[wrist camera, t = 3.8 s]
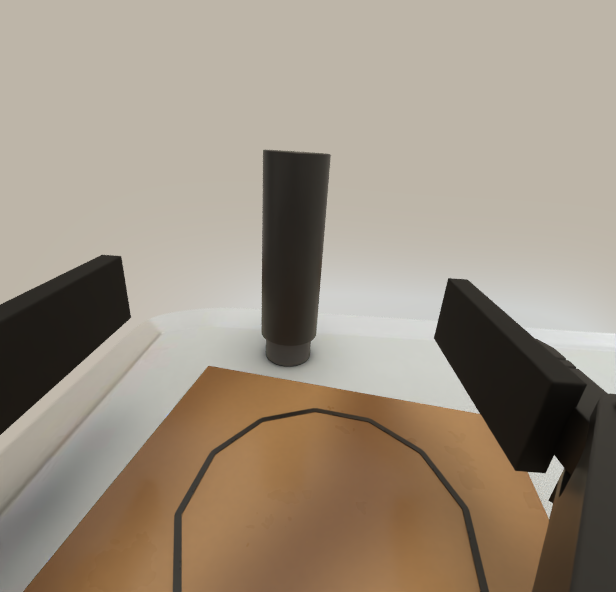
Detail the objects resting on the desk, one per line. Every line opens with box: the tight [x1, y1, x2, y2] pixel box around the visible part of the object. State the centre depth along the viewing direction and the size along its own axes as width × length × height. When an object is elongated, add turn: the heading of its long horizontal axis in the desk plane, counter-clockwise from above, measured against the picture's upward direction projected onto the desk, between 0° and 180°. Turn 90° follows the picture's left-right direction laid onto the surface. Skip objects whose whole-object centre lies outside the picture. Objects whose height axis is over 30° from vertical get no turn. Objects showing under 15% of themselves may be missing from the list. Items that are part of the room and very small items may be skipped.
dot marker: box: [262, 150, 330, 366], centre depth 20 cm, size 3×3×12 cm
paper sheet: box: [23, 366, 549, 592], centre depth 12 cm, size 16×14×1 cm
